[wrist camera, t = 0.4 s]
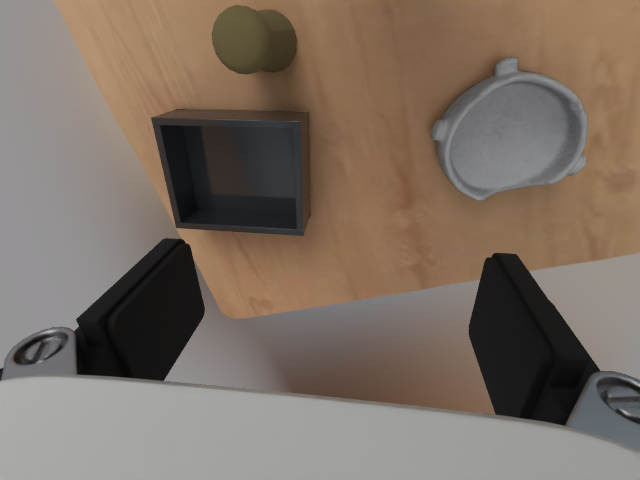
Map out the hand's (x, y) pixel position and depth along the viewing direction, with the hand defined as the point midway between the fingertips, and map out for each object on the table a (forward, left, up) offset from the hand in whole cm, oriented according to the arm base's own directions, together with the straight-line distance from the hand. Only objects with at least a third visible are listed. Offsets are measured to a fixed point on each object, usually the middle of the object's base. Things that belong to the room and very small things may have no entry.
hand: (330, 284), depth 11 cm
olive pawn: (-7, -10, -34) cm, 36 cm away
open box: (+7, -14, -34) cm, 38 cm away
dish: (+2, +16, -34) cm, 38 cm away
